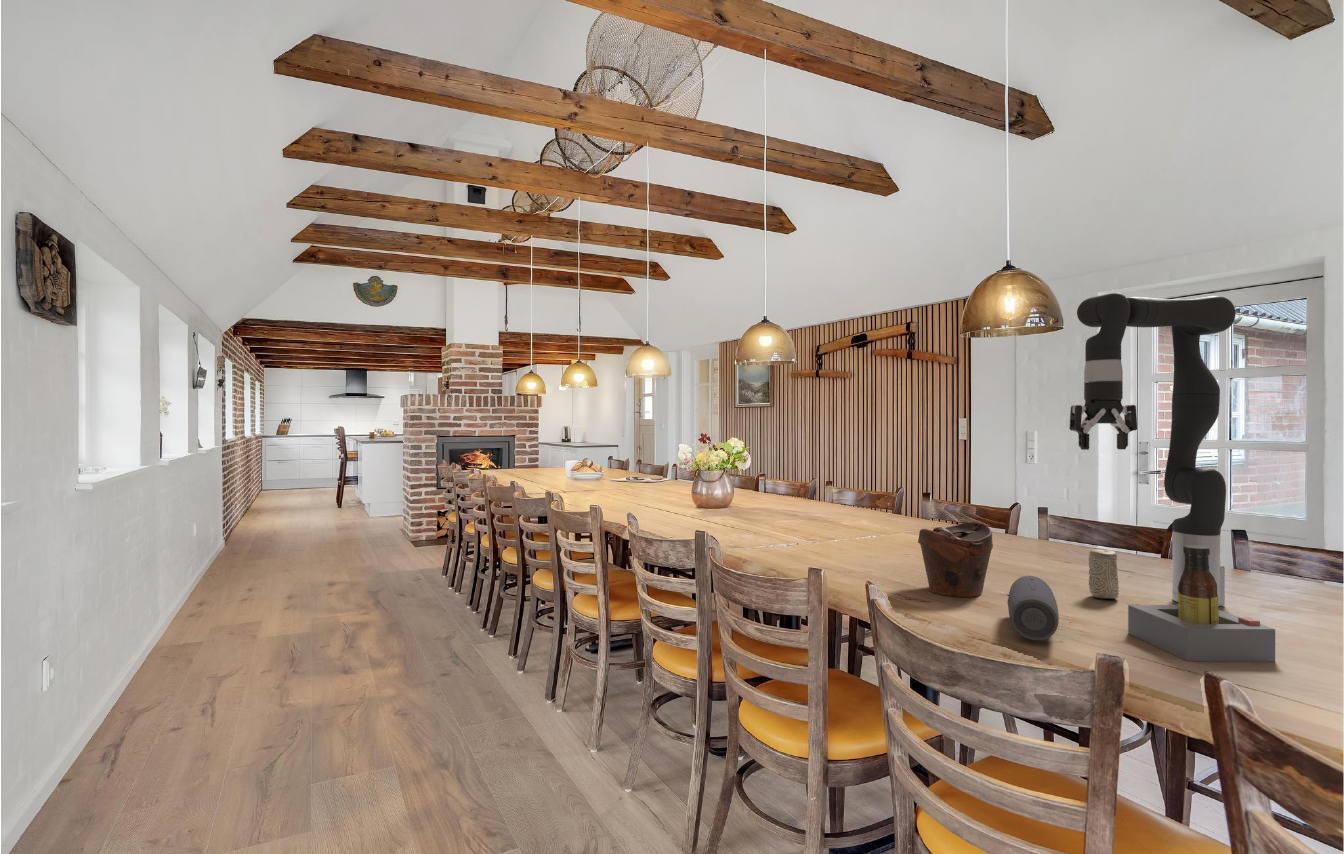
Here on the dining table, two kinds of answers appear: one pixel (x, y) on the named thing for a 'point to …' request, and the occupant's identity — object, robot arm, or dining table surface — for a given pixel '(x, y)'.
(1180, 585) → the sauce bottle
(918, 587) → the dining table surface
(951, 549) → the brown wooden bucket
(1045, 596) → the bluetooth speaker
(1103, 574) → the carving
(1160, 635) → the bottle socket block
